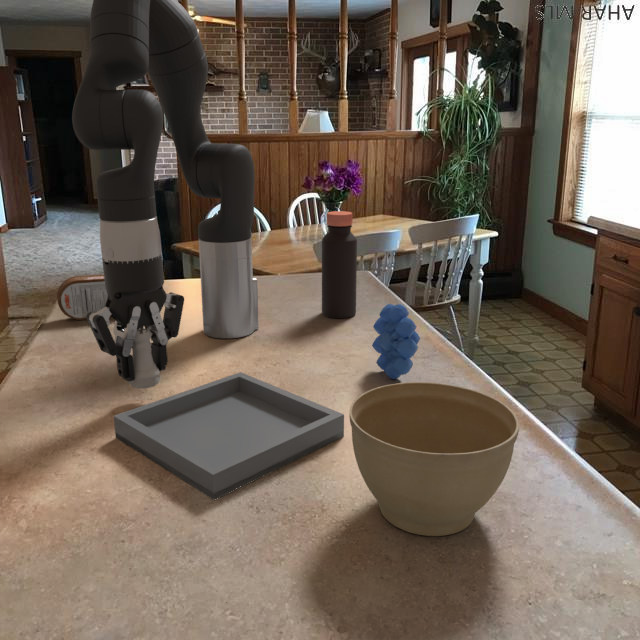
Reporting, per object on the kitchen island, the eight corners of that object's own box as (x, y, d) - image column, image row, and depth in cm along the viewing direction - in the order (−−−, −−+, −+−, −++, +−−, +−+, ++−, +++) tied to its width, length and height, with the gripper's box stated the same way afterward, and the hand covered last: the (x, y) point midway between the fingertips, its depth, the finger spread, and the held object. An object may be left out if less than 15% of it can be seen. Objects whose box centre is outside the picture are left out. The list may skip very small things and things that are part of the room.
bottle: (362, 312, 135) (364, 212, 129) (344, 321, 130) (346, 216, 124) (333, 307, 139) (333, 209, 133) (315, 315, 133) (314, 213, 127)
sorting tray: (241, 391, 97) (240, 372, 97) (343, 436, 84) (344, 414, 83) (115, 437, 84) (113, 415, 83) (214, 500, 70) (213, 474, 70)
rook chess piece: (153, 390, 91) (147, 334, 88) (122, 388, 92) (116, 332, 89) (166, 377, 95) (161, 323, 93) (136, 375, 96) (131, 322, 93)
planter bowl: (477, 584, 58) (486, 471, 55) (318, 525, 66) (318, 424, 63) (529, 496, 71) (539, 401, 68) (391, 456, 79) (394, 370, 76)
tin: (139, 311, 136) (136, 270, 133) (140, 316, 133) (137, 274, 131) (59, 318, 131) (54, 276, 129) (59, 323, 129) (54, 280, 126)
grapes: (437, 389, 98) (441, 310, 95) (395, 395, 96) (398, 314, 93) (401, 362, 109) (404, 289, 105) (363, 367, 107) (364, 293, 103)
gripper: (162, 240, 95) (171, 354, 100) (65, 257, 85) (82, 382, 91) (194, 247, 90) (202, 366, 95) (96, 266, 80) (111, 398, 86)
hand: (143, 373), depth 93 cm, fingers closed on rook chess piece, 4 cm apart
